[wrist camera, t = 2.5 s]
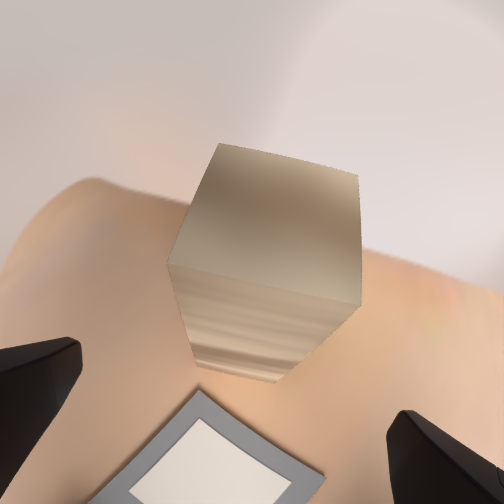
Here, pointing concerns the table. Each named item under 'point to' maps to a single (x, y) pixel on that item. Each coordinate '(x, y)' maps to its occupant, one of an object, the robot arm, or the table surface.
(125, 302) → the table surface
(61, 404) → the robot arm
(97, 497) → the mat
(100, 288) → the table surface
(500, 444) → the table surface
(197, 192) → the beech post
